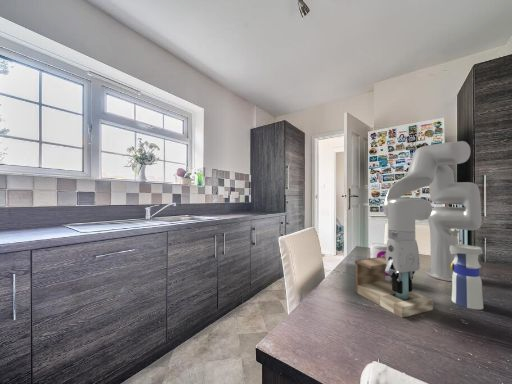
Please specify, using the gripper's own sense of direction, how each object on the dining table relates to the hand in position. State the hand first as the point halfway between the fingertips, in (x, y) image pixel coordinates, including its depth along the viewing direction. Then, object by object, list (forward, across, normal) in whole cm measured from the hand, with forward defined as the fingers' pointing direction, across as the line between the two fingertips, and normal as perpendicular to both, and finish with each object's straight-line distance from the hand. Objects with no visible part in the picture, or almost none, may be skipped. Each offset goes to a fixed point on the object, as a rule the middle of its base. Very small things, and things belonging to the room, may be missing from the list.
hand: (401, 290), depth 71 cm
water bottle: (+5, +22, -6) cm, 24 cm away
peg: (+2, 0, 0) cm, 2 cm away
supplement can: (+5, +13, +19) cm, 24 cm away
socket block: (+5, 0, +4) cm, 7 cm away
